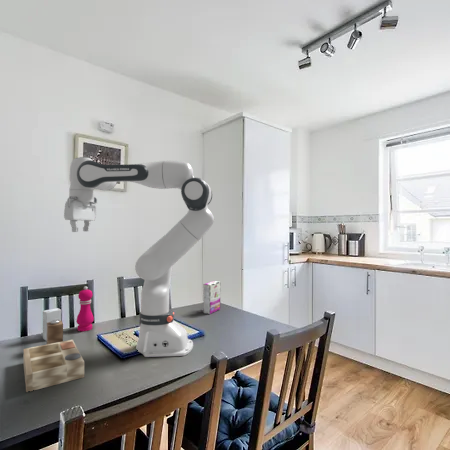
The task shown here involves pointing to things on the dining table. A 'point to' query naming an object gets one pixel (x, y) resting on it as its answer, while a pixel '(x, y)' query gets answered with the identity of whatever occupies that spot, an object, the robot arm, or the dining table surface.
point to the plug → (54, 331)
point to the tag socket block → (52, 365)
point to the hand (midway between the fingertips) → (80, 231)
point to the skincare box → (50, 319)
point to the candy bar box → (211, 297)
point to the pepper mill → (85, 310)
